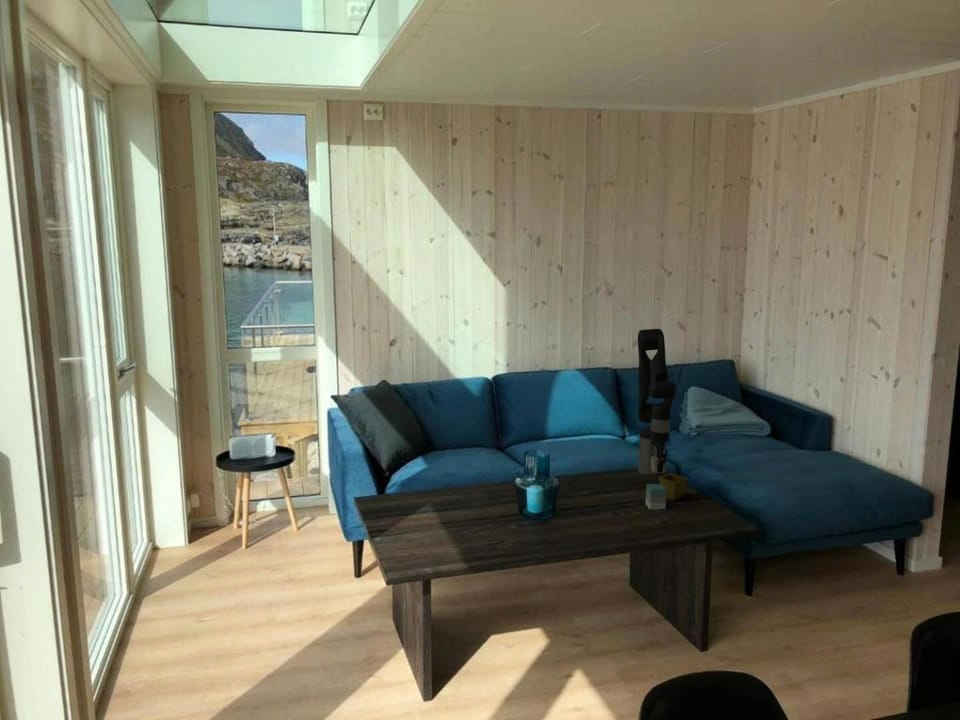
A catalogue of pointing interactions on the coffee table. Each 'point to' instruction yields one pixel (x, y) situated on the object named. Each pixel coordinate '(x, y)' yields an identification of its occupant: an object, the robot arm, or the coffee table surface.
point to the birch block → (654, 465)
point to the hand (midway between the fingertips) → (657, 469)
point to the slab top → (656, 490)
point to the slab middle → (655, 498)
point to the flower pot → (674, 485)
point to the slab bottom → (655, 505)
